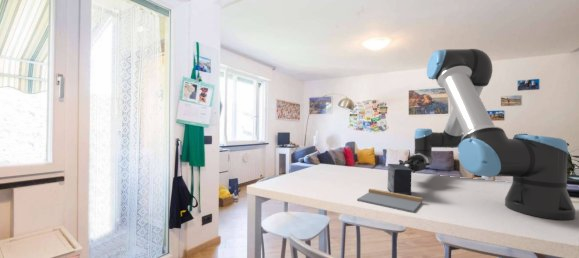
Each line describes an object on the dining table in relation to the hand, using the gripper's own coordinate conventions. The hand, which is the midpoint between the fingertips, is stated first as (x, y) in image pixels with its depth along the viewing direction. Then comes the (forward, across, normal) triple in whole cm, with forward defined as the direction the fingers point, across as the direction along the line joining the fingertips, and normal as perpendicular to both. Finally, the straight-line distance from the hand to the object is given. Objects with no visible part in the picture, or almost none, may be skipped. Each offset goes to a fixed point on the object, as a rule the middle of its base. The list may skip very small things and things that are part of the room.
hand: (402, 169), depth 97 cm
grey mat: (+18, -1, -8) cm, 20 cm away
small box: (+6, 0, -8) cm, 10 cm away
